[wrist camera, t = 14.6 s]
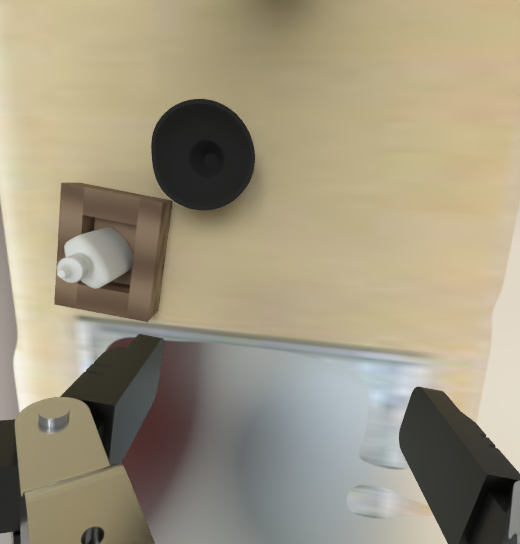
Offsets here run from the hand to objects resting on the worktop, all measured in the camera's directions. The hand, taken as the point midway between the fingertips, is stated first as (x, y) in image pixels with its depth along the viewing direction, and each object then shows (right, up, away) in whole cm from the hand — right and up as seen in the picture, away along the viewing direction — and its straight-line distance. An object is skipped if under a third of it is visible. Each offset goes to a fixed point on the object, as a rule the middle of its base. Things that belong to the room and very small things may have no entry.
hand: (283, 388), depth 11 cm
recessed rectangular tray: (-18, +6, +33) cm, 38 cm away
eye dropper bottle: (-18, +6, +32) cm, 37 cm away
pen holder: (-6, +16, +30) cm, 35 cm away
